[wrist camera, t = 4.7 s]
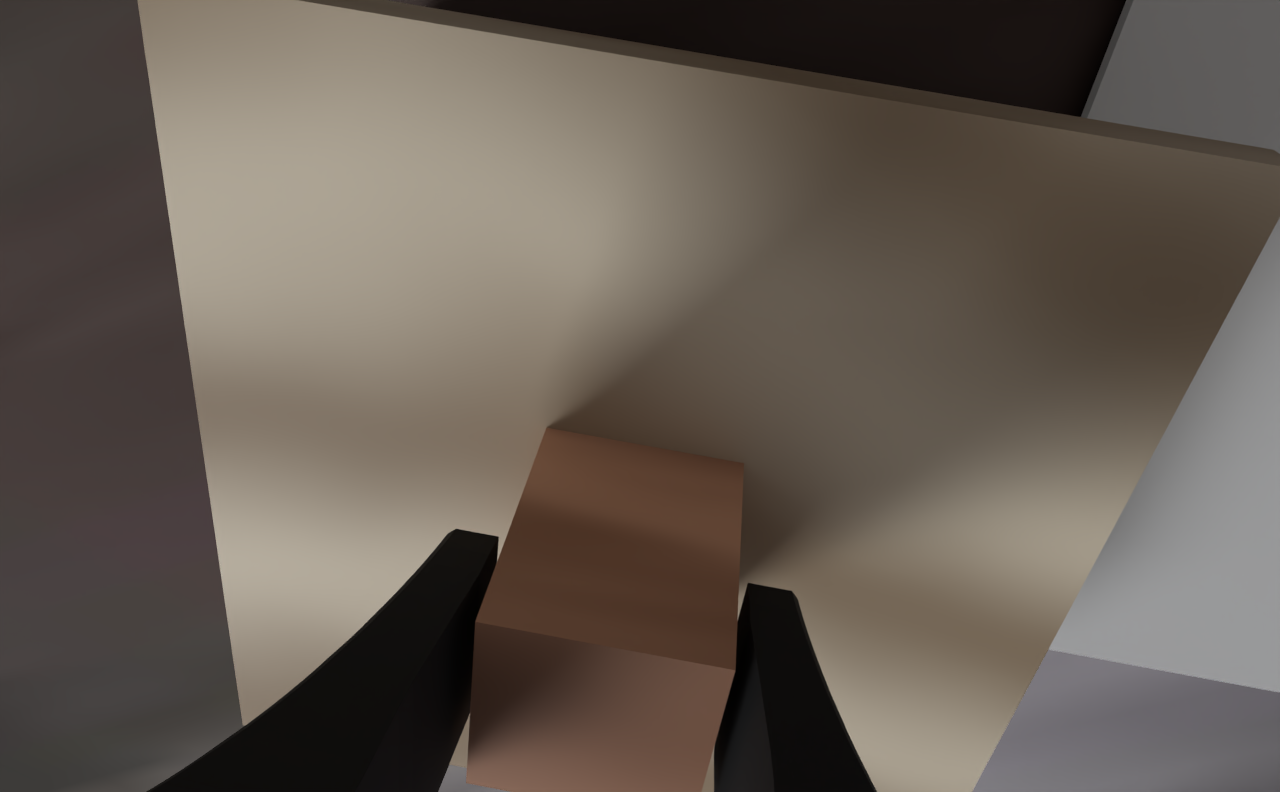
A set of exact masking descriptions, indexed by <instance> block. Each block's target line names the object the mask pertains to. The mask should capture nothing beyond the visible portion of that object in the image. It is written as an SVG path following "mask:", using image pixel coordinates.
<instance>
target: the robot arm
mask: <svg viewBox="0 0 1280 792" xmlns="http://www.w3.org/2000/svg"><path fill="white" fill-rule="evenodd" d="M498 542H499V537H498V536H493V535H488V534H482V533H477V532H471V531H466V530H461V529H455V530H453V531H451V532H449V533H448V534H447V535H446V536H445V538H444V539H443V540H442V541H441V543H440V544H439V545H438V546H437V547H436V549H435V550H434V551H433V552H432V553H431V554H430V556H429V557H428V558H427V559H426V560H425V561H424V563H423V564H422V565H421V566H420V567H419V568H418V569H417V570H416V572H415V573H414V574H413V575H412V576H411V577H410V578H409V579H408V580H407V581H406V582H405V584H404V585H403V586H402V587H401V588H400V589H399V590H398V591H397V592H396V593H395V594H394V595H393V596H392V597H391V598H390V599H389V600H388V601H387V602H386V603H385V604H384V605H383V606H382V607H381V608H380V609H379V610H378V611H377V612H376V613H375V614H374V615H373V616H372V617H371V618H370V619H369V620H368V621H367V622H366V623H365V624H364V625H363V626H362V627H361V628H360V629H359V630H358V631H357V632H356V633H355V634H354V635H353V636H352V637H351V638H350V639H349V640H348V641H346V642H345V643H344V644H343V645H342V646H341V647H340V648H339V649H338V650H336V651H335V652H334V653H333V654H332V655H331V656H330V657H329V658H327V659H326V660H325V661H324V662H323V663H322V664H321V665H320V666H319V667H317V668H316V669H315V670H314V671H313V672H312V673H311V674H310V675H308V676H307V677H306V678H305V679H304V680H303V681H301V682H300V683H299V684H298V685H297V686H295V687H294V688H293V689H292V690H290V691H289V692H288V693H287V694H286V695H284V696H283V697H282V698H281V699H279V700H278V701H277V702H276V703H274V704H273V705H272V706H270V707H269V708H268V709H267V710H265V711H264V712H263V713H261V714H260V715H259V716H257V717H256V718H255V719H253V720H252V721H251V722H250V723H248V724H247V725H246V726H244V727H243V728H241V729H240V730H239V731H237V732H236V733H234V734H233V735H232V736H230V737H229V738H227V739H226V740H224V741H223V742H222V743H220V744H219V745H217V746H216V747H214V748H213V749H212V750H210V751H209V752H207V753H206V754H204V755H203V756H202V757H200V758H199V759H197V760H196V761H194V762H193V763H191V764H190V765H188V766H187V767H185V768H184V769H182V770H181V771H179V772H178V773H176V774H175V775H173V776H171V777H170V778H168V779H167V780H165V781H164V782H162V783H160V784H159V785H157V786H155V787H154V788H152V789H150V790H149V791H147V792H438V790H439V788H440V786H441V783H442V781H443V778H444V776H445V773H446V771H447V768H448V766H449V764H450V761H451V759H452V756H453V754H454V751H455V749H456V746H457V744H458V741H459V739H460V736H461V734H462V732H463V729H464V727H465V724H466V722H467V719H468V717H469V714H470V706H471V688H472V670H473V652H474V635H475V621H476V618H477V615H478V613H479V610H480V607H481V605H482V602H483V599H484V596H485V594H486V591H487V588H488V585H489V583H490V580H491V577H492V575H493V572H494V569H495V566H496V564H497V556H498ZM714 792H877V790H876V789H875V787H874V785H873V783H872V781H871V779H870V777H869V775H868V773H867V771H866V769H865V767H864V765H863V763H862V761H861V759H860V757H859V755H858V753H857V751H856V749H855V747H854V744H853V742H852V740H851V738H850V736H849V734H848V732H847V729H846V727H845V725H844V722H843V720H842V718H841V716H840V713H839V711H838V709H837V706H836V704H835V702H834V700H833V697H832V695H831V693H830V690H829V688H828V685H827V683H826V680H825V678H824V675H823V673H822V670H821V667H820V665H819V662H818V659H817V657H816V654H815V651H814V649H813V646H812V643H811V640H810V637H809V634H808V631H807V628H806V625H805V622H804V619H803V616H802V612H801V609H800V605H799V602H798V598H797V597H796V596H795V594H794V593H793V592H792V591H790V590H785V589H779V588H774V587H769V586H763V585H758V584H752V583H748V584H747V588H746V591H745V595H744V599H743V602H742V606H741V610H740V614H739V617H738V621H737V645H736V669H735V674H734V677H733V681H732V684H731V688H730V692H729V695H728V699H727V702H726V706H725V710H724V713H723V717H722V720H721V724H720V727H719V731H718V735H717V738H716V742H715V746H714Z"/></svg>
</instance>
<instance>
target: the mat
mask: <svg viewBox="0 0 1280 792" xmlns="http://www.w3.org/2000/svg"><path fill="white" fill-rule="evenodd" d="M1081 117H1083V118H1089V119H1094V120H1100V121H1106V122H1112V123H1118V124H1124V125H1130V126H1136V127H1142V128H1148V129H1154V130H1160V131H1166V132H1172V133H1178V134H1183V135H1189V136H1195V137H1201V138H1207V139H1213V140H1219V141H1225V142H1231V143H1237V144H1243V145H1249V146H1255V147H1261V148H1267V149H1272V150H1275V151H1276V152H1278V153H1279V154H1280V0H1126V2H1125V5H1124V7H1123V10H1122V12H1121V15H1120V17H1119V20H1118V23H1117V25H1116V28H1115V30H1114V33H1113V35H1112V38H1111V41H1110V43H1109V46H1108V48H1107V51H1106V53H1105V56H1104V58H1103V61H1102V64H1101V66H1100V69H1099V71H1098V74H1097V76H1096V79H1095V81H1094V84H1093V87H1092V89H1091V92H1090V94H1089V97H1088V99H1087V102H1086V105H1085V107H1084V110H1083V112H1082V115H1081ZM1048 650H1054V651H1059V652H1065V653H1070V654H1075V655H1081V656H1086V657H1091V658H1097V659H1102V660H1108V661H1113V662H1118V663H1124V664H1129V665H1135V666H1140V667H1145V668H1151V669H1156V670H1162V671H1167V672H1172V673H1178V674H1183V675H1189V676H1194V677H1199V678H1205V679H1210V680H1216V681H1221V682H1226V683H1232V684H1237V685H1243V686H1248V687H1253V688H1259V689H1264V690H1269V691H1275V692H1280V218H1279V220H1278V222H1277V223H1276V225H1275V227H1274V229H1273V231H1272V233H1271V235H1270V236H1269V238H1268V240H1267V242H1266V244H1265V246H1264V248H1263V250H1262V251H1261V253H1260V255H1259V257H1258V259H1257V261H1256V263H1255V264H1254V266H1253V268H1252V270H1251V272H1250V274H1249V276H1248V278H1247V279H1246V281H1245V283H1244V285H1243V287H1242V289H1241V291H1240V292H1239V294H1238V296H1237V298H1236V300H1235V302H1234V304H1233V306H1232V307H1231V309H1230V311H1229V313H1228V315H1227V317H1226V319H1225V320H1224V322H1223V324H1222V326H1221V328H1220V330H1219V332H1218V334H1217V335H1216V337H1215V339H1214V341H1213V343H1212V345H1211V347H1210V348H1209V350H1208V352H1207V354H1206V356H1205V358H1204V360H1203V362H1202V363H1201V365H1200V367H1199V369H1198V371H1197V373H1196V375H1195V376H1194V378H1193V380H1192V382H1191V384H1190V386H1189V388H1188V390H1187V391H1186V393H1185V395H1184V397H1183V399H1182V401H1181V403H1180V404H1179V406H1178V408H1177V410H1176V412H1175V414H1174V416H1173V418H1172V419H1171V421H1170V423H1169V425H1168V427H1167V429H1166V431H1165V433H1164V434H1163V436H1162V438H1161V440H1160V442H1159V444H1158V446H1157V447H1156V449H1155V451H1154V453H1153V455H1152V457H1151V459H1150V461H1149V462H1148V464H1147V466H1146V468H1145V470H1144V472H1143V474H1142V475H1141V477H1140V479H1139V481H1138V483H1137V485H1136V487H1135V489H1134V490H1133V492H1132V494H1131V496H1130V498H1129V500H1128V502H1127V503H1126V505H1125V507H1124V509H1123V511H1122V513H1121V515H1120V517H1119V518H1118V520H1117V522H1116V524H1115V526H1114V528H1113V530H1112V531H1111V533H1110V535H1109V537H1108V539H1107V541H1106V543H1105V545H1104V546H1103V548H1102V550H1101V552H1100V554H1099V556H1098V558H1097V559H1096V561H1095V563H1094V565H1093V567H1092V569H1091V571H1090V573H1089V574H1088V576H1087V578H1086V580H1085V582H1084V584H1083V586H1082V587H1081V589H1080V591H1079V593H1078V595H1077V597H1076V599H1075V601H1074V602H1073V604H1072V606H1071V608H1070V610H1069V612H1068V614H1067V615H1066V617H1065V619H1064V621H1063V623H1062V625H1061V627H1060V629H1059V630H1058V632H1057V634H1056V636H1055V638H1054V640H1053V642H1052V643H1051V645H1050V647H1049V649H1048Z"/></svg>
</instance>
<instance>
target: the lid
mask: <svg viewBox="0 0 1280 792" xmlns="http://www.w3.org/2000/svg"><path fill="white" fill-rule="evenodd" d="M138 6H139V13H140V20H141V27H142V34H143V41H144V48H145V55H146V61H147V68H148V75H149V82H150V89H151V96H152V103H153V110H154V117H155V123H156V130H157V137H158V144H159V151H160V158H161V165H162V172H163V178H164V185H165V192H166V199H167V206H168V213H169V220H170V227H171V234H172V240H173V247H174V254H175V261H176V268H177V275H178V282H179V289H180V295H181V302H182V309H183V316H184V323H185V330H186V337H187V344H188V351H189V357H190V364H191V371H192V378H193V385H194V392H195V399H196V406H197V413H198V419H199V426H200V433H201V440H202V447H203V454H204V461H205V468H206V474H207V481H208V488H209V495H210V502H211V509H212V516H213V523H214V530H215V536H216V543H217V550H218V557H219V564H220V571H221V578H222V585H223V591H224V598H225V605H226V612H227V619H228V626H229V633H230V640H231V647H232V653H233V660H234V667H235V674H236V681H237V688H238V695H239V702H240V709H241V715H242V722H243V725H247V724H248V723H250V722H251V721H252V720H253V719H255V718H256V717H257V716H259V715H260V714H261V713H263V712H264V711H265V710H267V709H268V708H269V707H270V706H272V705H273V704H274V703H276V702H277V701H278V700H279V699H281V698H282V697H283V696H284V695H286V694H287V693H288V692H289V691H290V690H292V689H293V688H294V687H295V686H297V685H298V684H299V683H300V682H301V681H303V680H304V679H305V678H306V677H307V676H308V675H310V674H311V673H312V672H313V671H314V670H315V669H316V668H317V667H319V666H320V665H321V664H322V663H323V662H324V661H325V660H326V659H327V658H329V657H330V656H331V655H332V654H333V653H334V652H335V651H336V650H338V649H339V648H340V647H341V646H342V645H343V644H344V643H345V642H346V641H348V640H349V639H350V638H351V637H352V636H353V635H354V634H355V633H356V632H357V631H358V630H359V629H360V628H361V627H362V626H363V625H364V624H365V623H366V622H367V621H368V620H369V619H370V618H371V617H372V616H373V615H374V614H375V613H376V612H377V611H378V610H379V609H380V608H381V607H382V606H383V605H384V604H385V603H386V602H387V601H388V600H389V599H390V598H391V597H392V596H393V595H394V594H395V593H396V592H397V591H398V590H399V589H400V588H401V587H402V586H403V585H404V584H405V582H406V581H407V580H408V579H409V578H410V577H411V576H412V575H413V574H414V573H415V572H416V570H417V569H418V568H419V567H420V566H421V565H422V564H423V563H424V561H425V560H426V559H427V558H428V557H429V556H430V554H431V553H432V552H433V551H434V550H435V549H436V547H437V546H438V545H439V544H440V543H441V541H442V540H443V539H444V538H445V536H446V535H447V534H448V533H449V532H451V531H453V530H455V529H461V530H466V531H471V532H477V533H482V534H488V535H493V536H498V537H499V542H498V556H497V564H496V566H495V569H494V572H493V575H492V577H491V580H490V583H489V585H488V588H487V591H486V594H485V596H484V599H483V602H482V605H481V607H480V610H479V613H478V615H477V618H476V621H475V635H474V652H473V670H472V688H471V706H470V714H469V717H468V719H467V722H466V724H465V727H464V729H463V732H462V734H461V736H460V739H459V741H458V744H457V746H456V749H455V751H454V754H453V756H452V759H451V761H450V765H455V766H460V767H465V768H467V777H466V783H469V784H474V785H479V786H485V787H490V788H495V789H500V790H506V791H511V792H714V746H715V742H716V738H717V735H718V731H719V727H720V724H721V720H722V717H723V713H724V710H725V706H726V702H727V699H728V695H729V692H730V688H731V684H732V681H733V677H734V674H735V669H736V645H737V621H738V617H739V614H740V610H741V606H742V602H743V599H744V595H745V591H746V588H747V584H748V583H752V584H758V585H763V586H769V587H774V588H779V589H785V590H790V591H792V592H793V593H794V594H795V596H796V597H797V598H798V602H799V605H800V609H801V612H802V616H803V619H804V622H805V625H806V628H807V631H808V634H809V637H810V640H811V643H812V646H813V649H814V651H815V654H816V657H817V659H818V662H819V665H820V667H821V670H822V673H823V675H824V678H825V680H826V683H827V685H828V688H829V690H830V693H831V695H832V697H833V700H834V702H835V704H836V706H837V709H838V711H839V713H840V716H841V718H842V720H843V722H844V725H845V727H846V729H847V732H848V734H849V736H850V738H851V740H852V742H853V744H854V747H855V749H856V751H857V753H858V755H859V757H860V759H861V761H862V763H863V765H864V767H865V769H866V771H867V773H868V775H869V777H870V779H871V781H872V783H873V785H874V787H875V789H876V790H877V792H972V791H973V789H974V787H975V785H976V784H977V782H978V780H979V778H980V776H981V774H982V772H983V770H984V769H985V767H986V765H987V763H988V761H989V759H990V757H991V756H992V754H993V752H994V750H995V748H996V746H997V744H998V742H999V741H1000V739H1001V737H1002V735H1003V733H1004V731H1005V729H1006V728H1007V726H1008V724H1009V722H1010V720H1011V718H1012V716H1013V714H1014V713H1015V711H1016V709H1017V707H1018V705H1019V703H1020V701H1021V700H1022V698H1023V696H1024V694H1025V692H1026V690H1027V688H1028V686H1029V685H1030V683H1031V681H1032V679H1033V677H1034V675H1035V673H1036V671H1037V670H1038V668H1039V666H1040V664H1041V662H1042V660H1043V658H1044V657H1045V655H1046V653H1047V651H1048V649H1049V647H1050V645H1051V643H1052V642H1053V640H1054V638H1055V636H1056V634H1057V632H1058V630H1059V629H1060V627H1061V625H1062V623H1063V621H1064V619H1065V617H1066V615H1067V614H1068V612H1069V610H1070V608H1071V606H1072V604H1073V602H1074V601H1075V599H1076V597H1077V595H1078V593H1079V591H1080V589H1081V587H1082V586H1083V584H1084V582H1085V580H1086V578H1087V576H1088V574H1089V573H1090V571H1091V569H1092V567H1093V565H1094V563H1095V561H1096V559H1097V558H1098V556H1099V554H1100V552H1101V550H1102V548H1103V546H1104V545H1105V543H1106V541H1107V539H1108V537H1109V535H1110V533H1111V531H1112V530H1113V528H1114V526H1115V524H1116V522H1117V520H1118V518H1119V517H1120V515H1121V513H1122V511H1123V509H1124V507H1125V505H1126V503H1127V502H1128V500H1129V498H1130V496H1131V494H1132V492H1133V490H1134V489H1135V487H1136V485H1137V483H1138V481H1139V479H1140V477H1141V475H1142V474H1143V472H1144V470H1145V468H1146V466H1147V464H1148V462H1149V461H1150V459H1151V457H1152V455H1153V453H1154V451H1155V449H1156V447H1157V446H1158V444H1159V442H1160V440H1161V438H1162V436H1163V434H1164V433H1165V431H1166V429H1167V427H1168V425H1169V423H1170V421H1171V419H1172V418H1173V416H1174V414H1175V412H1176V410H1177V408H1178V406H1179V404H1180V403H1181V401H1182V399H1183V397H1184V395H1185V393H1186V391H1187V390H1188V388H1189V386H1190V384H1191V382H1192V380H1193V378H1194V376H1195V375H1196V373H1197V371H1198V369H1199V367H1200V365H1201V363H1202V362H1203V360H1204V358H1205V356H1206V354H1207V352H1208V350H1209V348H1210V347H1211V345H1212V343H1213V341H1214V339H1215V337H1216V335H1217V334H1218V332H1219V330H1220V328H1221V326H1222V324H1223V322H1224V320H1225V319H1226V317H1227V315H1228V313H1229V311H1230V309H1231V307H1232V306H1233V304H1234V302H1235V300H1236V298H1237V296H1238V294H1239V292H1240V291H1241V289H1242V287H1243V285H1244V283H1245V281H1246V279H1247V278H1248V276H1249V274H1250V272H1251V270H1252V268H1253V266H1254V264H1255V263H1256V261H1257V259H1258V257H1259V255H1260V253H1261V251H1262V250H1263V248H1264V246H1265V244H1266V242H1267V240H1268V238H1269V236H1270V235H1271V233H1272V231H1273V229H1274V227H1275V225H1276V223H1277V222H1278V220H1279V218H1280V154H1279V153H1278V152H1276V151H1275V150H1272V149H1267V148H1261V147H1255V146H1249V145H1243V144H1237V143H1231V142H1225V141H1219V140H1213V139H1207V138H1201V137H1195V136H1189V135H1183V134H1178V133H1172V132H1166V131H1160V130H1154V129H1148V128H1142V127H1136V126H1130V125H1124V124H1118V123H1112V122H1106V121H1100V120H1094V119H1089V118H1083V117H1077V116H1071V115H1065V114H1059V113H1053V112H1047V111H1041V110H1035V109H1029V108H1023V107H1017V106H1011V105H1005V104H1000V103H994V102H988V101H982V100H976V99H970V98H964V97H958V96H952V95H946V94H940V93H934V92H928V91H922V90H916V89H911V88H905V87H899V86H893V85H887V84H881V83H875V82H869V81H863V80H857V79H851V78H845V77H839V76H833V75H827V74H822V73H816V72H810V71H804V70H798V69H792V68H786V67H780V66H774V65H768V64H762V63H756V62H750V61H744V60H738V59H733V58H727V57H721V56H715V55H709V54H703V53H697V52H691V51H685V50H679V49H673V48H667V47H661V46H655V45H649V44H644V43H638V42H632V41H626V40H620V39H614V38H608V37H602V36H596V35H590V34H584V33H578V32H572V31H566V30H560V29H555V28H549V27H543V26H537V25H531V24H525V23H519V22H513V21H507V20H501V19H495V18H489V17H483V16H477V15H472V14H466V13H460V12H454V11H448V10H442V9H436V8H430V7H424V6H418V5H412V4H406V3H400V2H394V1H388V0H138Z"/></svg>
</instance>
